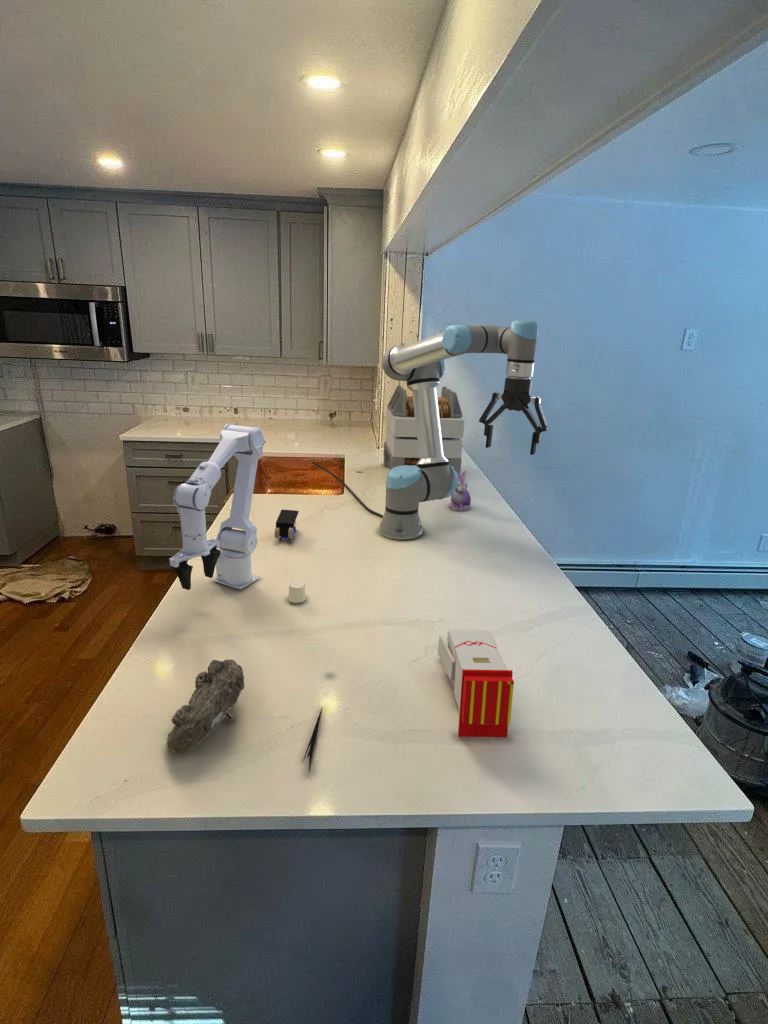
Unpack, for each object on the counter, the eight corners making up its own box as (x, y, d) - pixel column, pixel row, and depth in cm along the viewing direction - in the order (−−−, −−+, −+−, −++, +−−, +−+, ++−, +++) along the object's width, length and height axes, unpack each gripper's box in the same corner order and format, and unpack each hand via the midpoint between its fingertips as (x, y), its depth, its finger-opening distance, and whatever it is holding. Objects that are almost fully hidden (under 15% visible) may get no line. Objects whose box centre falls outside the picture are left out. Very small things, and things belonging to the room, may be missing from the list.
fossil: (192, 660, 117) (244, 628, 112) (224, 691, 120) (276, 661, 115) (142, 746, 98) (202, 712, 93) (182, 779, 101) (242, 748, 96)
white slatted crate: (382, 463, 289) (386, 382, 275) (445, 464, 293) (451, 384, 279) (390, 482, 257) (394, 392, 243) (460, 483, 261) (468, 394, 247)
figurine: (457, 512, 223) (460, 476, 218) (443, 504, 231) (446, 469, 226) (477, 509, 227) (480, 473, 222) (462, 502, 236) (465, 467, 230)
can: (289, 603, 150) (288, 588, 149) (288, 595, 154) (288, 580, 153) (305, 602, 151) (305, 587, 149) (304, 595, 155) (304, 580, 153)
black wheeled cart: (294, 548, 187) (299, 527, 200) (293, 528, 183) (299, 508, 197) (273, 548, 187) (280, 526, 200) (272, 527, 183) (279, 507, 197)
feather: (331, 679, 122) (336, 673, 122) (307, 777, 96) (313, 769, 95) (324, 675, 122) (329, 669, 121) (298, 772, 95) (304, 764, 95)
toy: (488, 613, 130) (523, 677, 101) (484, 667, 133) (517, 744, 104) (435, 612, 130) (455, 676, 101) (432, 666, 133) (451, 743, 103)
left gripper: (183, 545, 129) (187, 598, 134) (227, 526, 142) (230, 575, 146) (161, 539, 132) (166, 591, 137) (206, 520, 145) (209, 569, 149)
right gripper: (472, 374, 164) (466, 446, 171) (559, 383, 152) (548, 459, 160) (481, 372, 170) (475, 442, 177) (566, 380, 159) (555, 454, 166)
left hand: (197, 582), depth 142 cm, fingers open, 7 cm apart
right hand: (509, 450), depth 168 cm, fingers open, 13 cm apart
